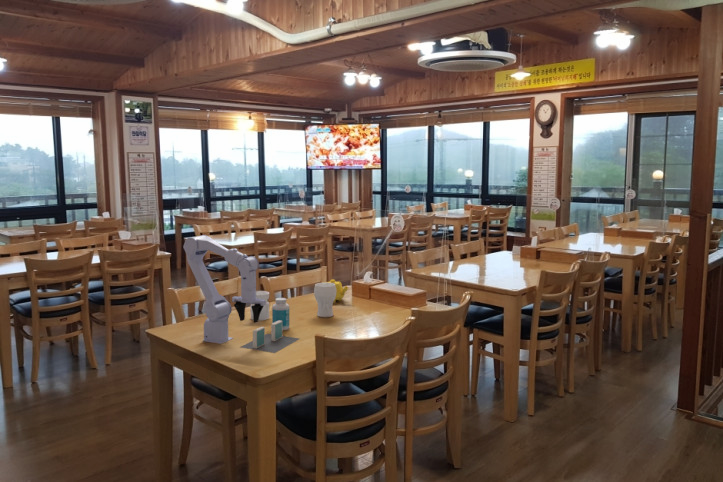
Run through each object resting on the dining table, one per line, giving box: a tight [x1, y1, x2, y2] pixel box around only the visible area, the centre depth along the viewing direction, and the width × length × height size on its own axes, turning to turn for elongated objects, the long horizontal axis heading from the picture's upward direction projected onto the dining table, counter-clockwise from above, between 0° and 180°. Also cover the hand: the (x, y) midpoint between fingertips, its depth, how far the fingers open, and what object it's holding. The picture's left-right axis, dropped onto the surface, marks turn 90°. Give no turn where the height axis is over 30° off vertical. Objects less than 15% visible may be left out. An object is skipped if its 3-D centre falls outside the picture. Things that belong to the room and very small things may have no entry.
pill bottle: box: [271, 297, 290, 331], centre depth 252 cm, size 8×7×14 cm
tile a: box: [252, 326, 266, 348], centre depth 228 cm, size 2×6×7 cm, turn 157°
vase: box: [249, 290, 270, 322], centre depth 269 cm, size 9×9×12 cm
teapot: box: [327, 279, 349, 304], centre depth 305 cm, size 14×14×11 cm
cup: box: [313, 281, 336, 318], centre depth 276 cm, size 11×11×15 cm
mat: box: [240, 333, 301, 354], centre depth 233 cm, size 16×20×1 cm
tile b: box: [270, 320, 283, 341], centre depth 237 cm, size 2×6×7 cm, turn 157°
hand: (249, 321), depth 229 cm, fingers open, 6 cm apart
